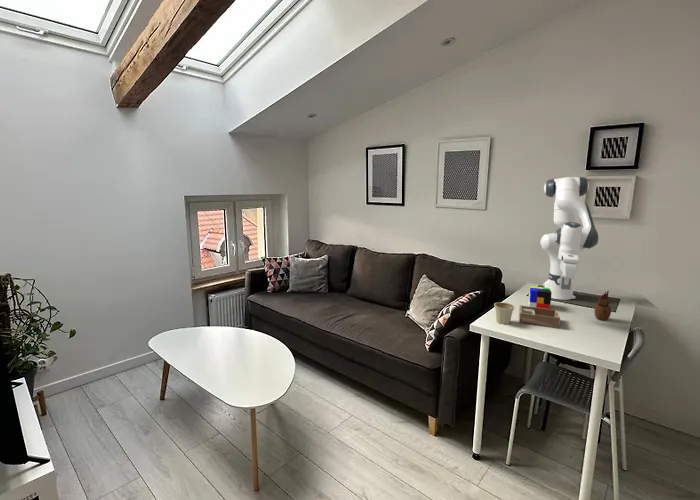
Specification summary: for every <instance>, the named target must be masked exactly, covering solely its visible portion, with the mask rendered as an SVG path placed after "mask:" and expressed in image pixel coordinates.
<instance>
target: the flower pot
mask: <svg viewBox="0 0 700 500" xmlns="http://www.w3.org/2000/svg"><path fill="white" fill-rule="evenodd" d="M493 305H494V309H495V318H496V323H499V324H502V325H509V324H510V323H511V320H512V315H513V311H514V309H515V308H516V307H515V305H514V304H511V303H507V302H501V301H500V302H499V301H498V302H494V304H493Z"/></svg>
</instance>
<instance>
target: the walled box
mask: <svg viewBox="0 0 700 500" xmlns="http://www.w3.org/2000/svg"><path fill="white" fill-rule="evenodd" d="M518 321H519V324H525V325H532V326H539V327H546V328H553V329H560V322H561V316H560V314H559V312H558V309H553V308H550V309H546V308H537V307H529V305H522V304H521V305H519V310H518Z"/></svg>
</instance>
